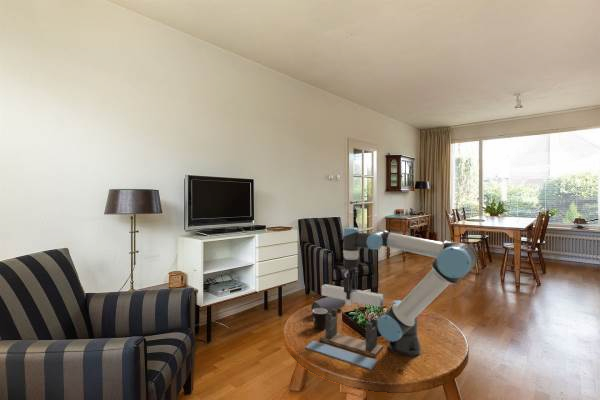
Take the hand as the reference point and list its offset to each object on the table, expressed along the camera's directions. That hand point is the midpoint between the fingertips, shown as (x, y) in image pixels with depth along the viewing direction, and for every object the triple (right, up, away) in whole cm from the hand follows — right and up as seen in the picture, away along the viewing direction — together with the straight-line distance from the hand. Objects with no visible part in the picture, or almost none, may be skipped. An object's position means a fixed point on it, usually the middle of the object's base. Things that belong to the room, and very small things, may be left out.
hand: (350, 303), depth 156 cm
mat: (-7, -21, -9) cm, 24 cm away
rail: (0, +2, 0) cm, 2 cm away
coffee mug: (-14, -21, +21) cm, 33 cm away
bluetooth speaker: (-7, -20, +43) cm, 48 cm away
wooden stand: (0, -21, +1) cm, 21 cm away
